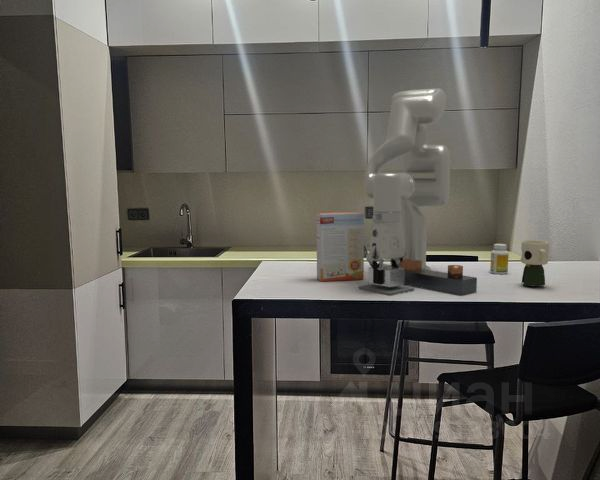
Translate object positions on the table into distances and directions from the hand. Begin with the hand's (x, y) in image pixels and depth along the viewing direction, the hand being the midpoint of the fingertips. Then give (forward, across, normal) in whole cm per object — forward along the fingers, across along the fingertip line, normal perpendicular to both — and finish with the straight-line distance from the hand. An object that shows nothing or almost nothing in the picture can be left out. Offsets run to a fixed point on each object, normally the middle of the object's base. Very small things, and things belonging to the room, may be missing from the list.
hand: (386, 281), depth 140 cm
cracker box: (+3, +1, +20) cm, 20 cm away
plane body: (+2, +13, -6) cm, 14 cm away
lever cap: (+1, 0, 0) cm, 1 cm away
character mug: (+3, +36, -24) cm, 43 cm away
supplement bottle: (+3, +49, -6) cm, 49 cm away
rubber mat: (+2, 0, 0) cm, 2 cm away
